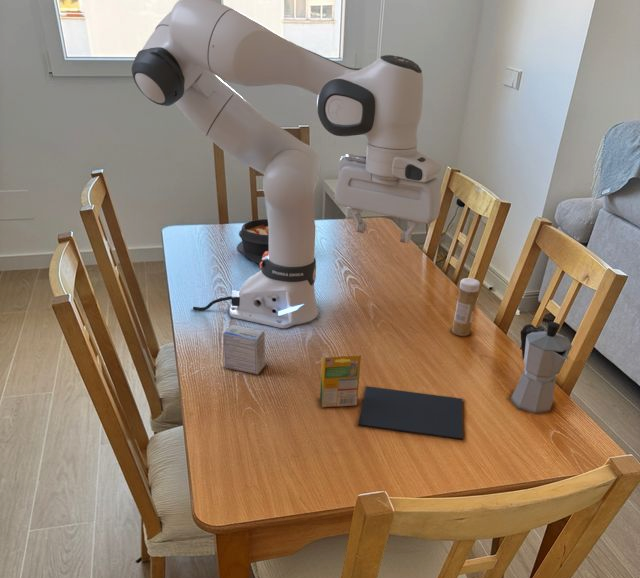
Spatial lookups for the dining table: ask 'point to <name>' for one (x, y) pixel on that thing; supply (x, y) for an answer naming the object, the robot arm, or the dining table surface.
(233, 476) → the dining table surface
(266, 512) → the dining table surface
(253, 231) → the casserole
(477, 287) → the sprinkles bottle
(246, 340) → the medicine box
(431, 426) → the mat
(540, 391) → the coffee maker
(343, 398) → the crayon box
